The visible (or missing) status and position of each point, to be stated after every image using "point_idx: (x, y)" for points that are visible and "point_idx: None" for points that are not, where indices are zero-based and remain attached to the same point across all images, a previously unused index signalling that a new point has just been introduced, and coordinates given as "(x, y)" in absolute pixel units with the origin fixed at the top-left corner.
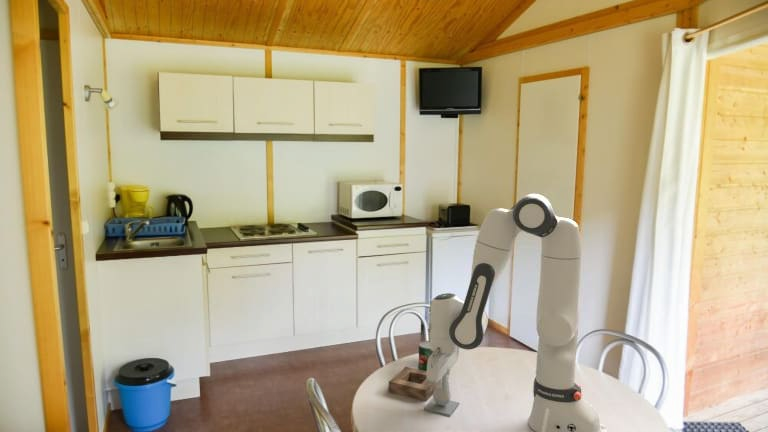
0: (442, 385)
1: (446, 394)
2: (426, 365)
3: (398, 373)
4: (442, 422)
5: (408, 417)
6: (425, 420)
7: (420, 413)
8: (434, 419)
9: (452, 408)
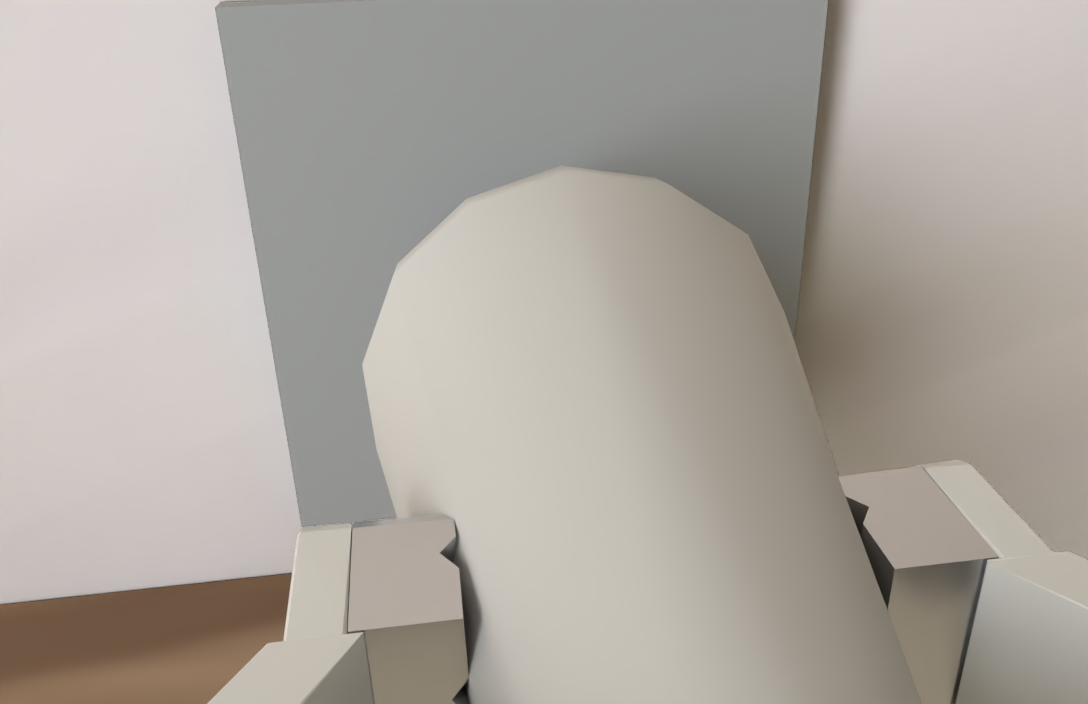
0: (902, 498)
1: (724, 269)
2: None
3: None
4: (1068, 21)
5: (1061, 523)
6: (1079, 296)
7: (894, 449)
8: (1007, 189)
9: (559, 43)
